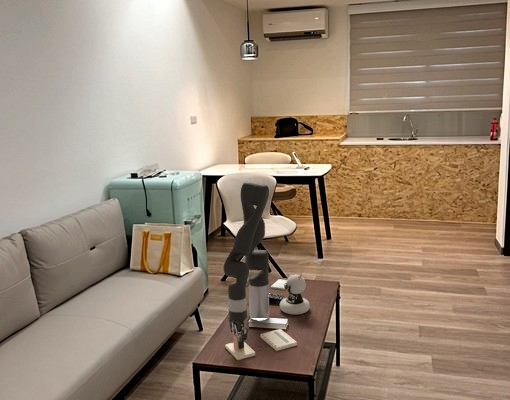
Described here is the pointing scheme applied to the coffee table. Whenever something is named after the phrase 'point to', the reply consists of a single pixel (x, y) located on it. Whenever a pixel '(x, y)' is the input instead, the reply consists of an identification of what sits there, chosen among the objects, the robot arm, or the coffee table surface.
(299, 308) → the decorative figurine
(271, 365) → the coffee table surface
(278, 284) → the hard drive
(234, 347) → the block on cream base
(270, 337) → the board
